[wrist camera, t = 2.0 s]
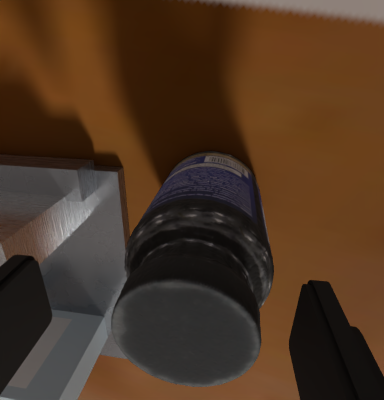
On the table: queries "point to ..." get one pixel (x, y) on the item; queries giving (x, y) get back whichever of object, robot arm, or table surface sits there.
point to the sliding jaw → (59, 359)
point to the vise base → (89, 243)
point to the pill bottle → (197, 275)
